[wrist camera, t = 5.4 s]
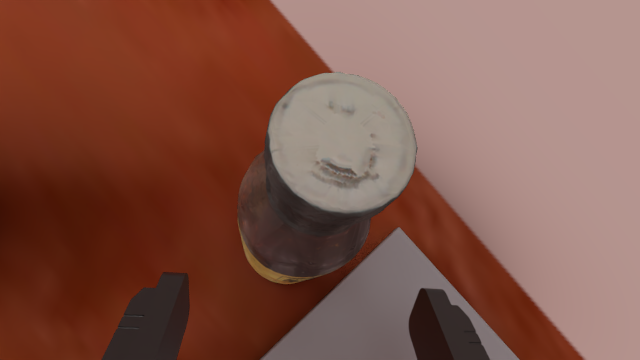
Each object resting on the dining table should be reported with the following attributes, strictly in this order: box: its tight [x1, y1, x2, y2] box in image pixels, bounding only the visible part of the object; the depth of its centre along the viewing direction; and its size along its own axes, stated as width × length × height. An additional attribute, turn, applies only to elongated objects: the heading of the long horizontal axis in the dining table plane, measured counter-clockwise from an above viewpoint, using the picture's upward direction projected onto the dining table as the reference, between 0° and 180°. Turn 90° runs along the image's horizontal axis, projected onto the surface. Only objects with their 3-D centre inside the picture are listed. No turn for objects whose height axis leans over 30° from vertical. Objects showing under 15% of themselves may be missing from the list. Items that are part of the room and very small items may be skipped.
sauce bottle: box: [237, 72, 417, 284], centre depth 19 cm, size 7×6×20 cm
